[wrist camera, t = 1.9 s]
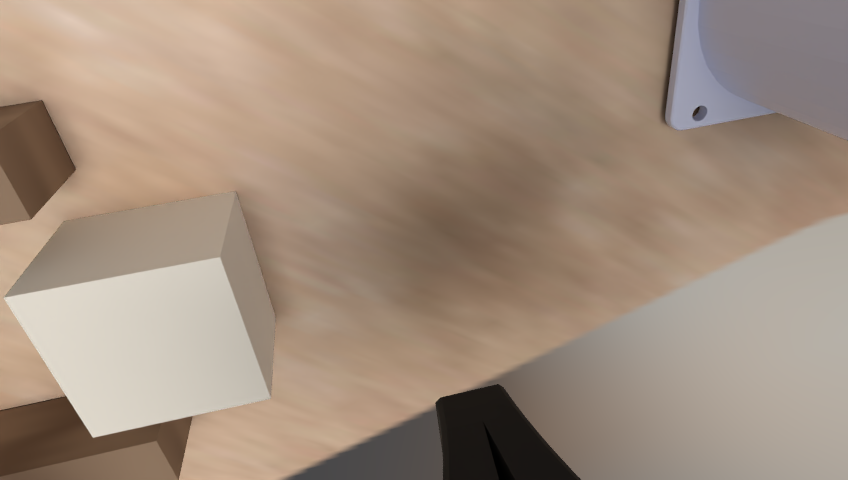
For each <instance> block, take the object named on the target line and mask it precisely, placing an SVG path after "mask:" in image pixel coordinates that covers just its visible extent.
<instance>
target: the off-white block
mask: <svg viewBox="0 0 848 480" xmlns="http://www.w3.org/2000/svg"><path fill="white" fill-rule="evenodd" d="M4 299H5V301H6V302H7V304H8V306H9V307H10V309H11V310H12V312H13V313H14V315H15V317H16V318H17V320H18V321H19V323H20V324H21V326H22V328H23V329H24V331H25V332H26V334H27V335H28V337H29V338H30V340H31V342H32V343H33V345H34V346H35V348H36V349H37V351H38V353H39V354H40V356H41V357H42V359H43V360H44V362H45V364H46V365H47V367H48V368H49V370H50V371H51V373H52V374H53V376H54V378H55V379H56V381H57V382H58V384H59V385H60V387H61V389H62V390H63V392H64V393H65V395H66V396H67V398H68V400H69V401H70V403H71V404H72V406H73V407H74V409H75V410H76V412H77V414H78V415H79V417H80V418H81V420H82V421H83V423H84V425H85V426H86V428H87V429H88V431H89V432H90V434H91V436H92V437H93V438H94V437H99V436H103V435H108V434H112V433H117V432H122V431H126V430H131V429H135V428H140V427H144V426H149V425H153V424H158V423H163V422H167V421H172V420H176V419H181V418H185V417H190V416H194V415H199V414H204V413H208V412H213V411H217V410H222V409H226V408H231V407H235V406H240V405H245V404H249V403H254V402H258V401H263V400H267V399H271V390H272V373H273V356H274V340H275V323H276V316H275V313H274V310H273V307H272V304H271V301H270V297H269V294H268V291H267V288H266V285H265V282H264V279H263V275H262V272H261V269H260V266H259V263H258V260H257V256H256V253H255V250H254V247H253V244H252V241H251V238H250V234H249V231H248V228H247V225H246V222H245V219H244V215H243V212H242V209H241V206H240V203H239V200H238V197H237V193H236V191H233V192H227V193H222V194H216V195H210V196H204V197H199V198H193V199H187V200H182V201H176V202H170V203H164V204H159V205H153V206H147V207H142V208H136V209H130V210H124V211H119V212H113V213H107V214H102V215H96V216H90V217H84V218H79V219H73V220H67V221H64V222H63V223H62V224H61V225H60V227H59V228H58V229H57V231H56V232H55V233H54V234H53V236H52V237H51V238H50V239H49V241H48V242H47V243H46V245H45V246H44V247H43V248H42V250H41V251H40V252H39V253H38V255H37V256H36V257H35V258H34V260H33V261H32V262H31V264H30V265H29V266H28V267H27V269H26V270H25V271H24V272H23V274H22V275H21V276H20V278H19V279H18V280H17V281H16V283H15V284H14V285H13V286H12V288H11V289H10V290H9V292H8V293H7V294H6V295H5V297H4Z"/></svg>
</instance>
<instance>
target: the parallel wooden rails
mask: <svg viewBox="0 0 848 480" xmlns="http://www.w3.org/2000/svg"><path fill="white" fill-rule="evenodd" d="M74 171H75V168H74V166H73V164H72V162H71V160H70V158H69V155H68V153H67V151H66V149H65V147H64V145H63V143H62V141H61V139H60V137H59V135H58V133H57V131H56V129H55V127H54V125H53V123H52V121H51V119H50V117H49V115H48V113H47V110H46V108H45V106H44V104H43V102H42V101H36V102H30V103H23V104H17V105H11V106H5V107H0V225H3V224H8V223H14V222H20V221H25V220H31V219H32V218H33V217H34V216H35V214H36V213H37V212H38V211H39V210H40V209H41V208H42V207H43V206H44V205H45V203H46V202H47V201H48V200H49V199H50V198H51V197H52V196H53V195H54V193H55V192H56V191H57V190H58V189H59V188H60V187H61V186H62V185H63V183H64V182H65V181H66V180H67V179H68V178H69V177H70V176H71V175H72V173H73V172H74ZM191 421H192V416H190V417H185V418H181V419H176V420H172V421H167V422H163V423H158V424H153V425H149V426H144V427H140V428H135V429H131V430H126V431H122V432H117V433H112V434H108V435H103V436H99V437H94V438H93V437H92V436H91V434H90V432H89V431H88V429H87V428H86V426H85V425H84V423H83V421H82V420H81V418H80V417H79V415H78V414H77V412H76V410H75V409H74V407H73V406H72V404H71V403H70V401H69V400H68V398H67V397H63V398H59V399H54V400H49V401H45V402H40V403H36V404H31V405H26V406H22V407H17V408H12V409H8V410H3V411H0V480H179V476H180V471H181V467H182V462H183V457H184V453H185V448H186V444H187V439H188V434H189V430H190V425H191Z"/></svg>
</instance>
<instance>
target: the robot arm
mask: <svg viewBox="0 0 848 480" xmlns="http://www.w3.org/2000/svg"><path fill="white" fill-rule="evenodd" d="M699 106H700V109H699V112H698V113H697V114H696V115H695V116H694V117H692V114H693V112H694V110H695V109H696V108H697V107H699ZM772 113H780V114H782V115H785V116H787V117H790V118H792V119H795V120H797V121H800V122H802V123H805V124H807V125H810V126H812V127H815V128H817V129H820V130H822V131H825V132H827V133H830V134H832V135H835V136H837V137H840V138H842V139H845V140H847V141H848V0H680V1H679V9H678V17H677V25H676V33H675V41H674V49H673V57H672V65H671V73H670V81H669V89H668V97H667V105H666V113H665V119H666V122H667V124H668V125H669V126H671V127H673V128H674V129H676V130H687V129H692V128H697V127H703V126H708V125H713V124H719V123H724V122H729V121H735V120H740V119H745V118H751V117H756V116H761V115H767V114H772ZM435 404H436V411H437V417H438V424H439V430H440V438H441V444H442V452H443V480H581V479H580V478H579V477H578V476H577V475H576V474H575V473H574V472H573V471H572V470H571V469H570V468H569V467H568V465H566V463H565V462H564V461H563V460H562V459H561V458H560V457H559V456H558V455H557V453H555V451H554V450H553V449H552V448H551V447H550V446H549V445H548V444H547V442H546V441H545V440H544V439H543V438H542V437H541V435H540V434H539V433H538V432H537V431H536V429H535V428H534V427H533V426H532V425H531V423H530V422H529V421H528V420H527V418H526V417H525V416H524V415H523V413H522V412H521V411H520V410H519V408H518V407H517V406H516V404H515V403H514V402H513V400H512V399H511V397H510V396H509V395H508V393H507V392H506V390H505V389H504V388H503V387H502V386H500V385H499V384H497V385H493V386H488V387H484V388H480V389H475V390H471V391H467V392H463V393H458V394H454V395H450V396H445V397H441V398H440V399H439V400H438V401H437V402H436V403H435Z"/></svg>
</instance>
